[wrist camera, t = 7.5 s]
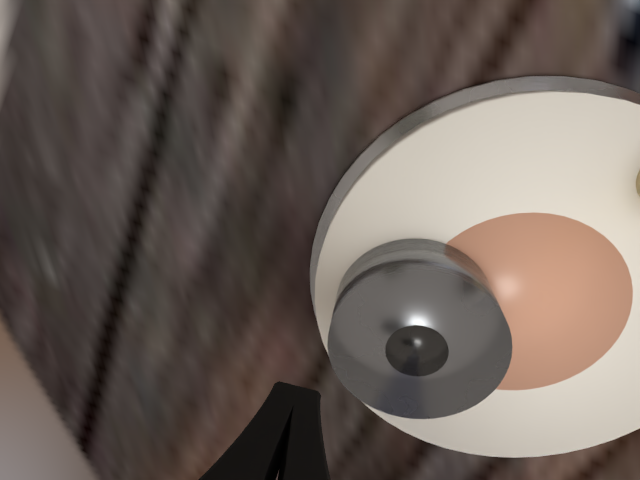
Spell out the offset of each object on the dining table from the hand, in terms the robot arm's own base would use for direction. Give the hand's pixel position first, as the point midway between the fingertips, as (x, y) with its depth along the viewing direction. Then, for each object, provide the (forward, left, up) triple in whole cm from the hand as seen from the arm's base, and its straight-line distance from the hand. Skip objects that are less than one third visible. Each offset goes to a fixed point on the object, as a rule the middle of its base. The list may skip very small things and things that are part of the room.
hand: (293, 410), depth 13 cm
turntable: (-1, -9, -9) cm, 13 cm away
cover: (-1, -4, -7) cm, 8 cm away
